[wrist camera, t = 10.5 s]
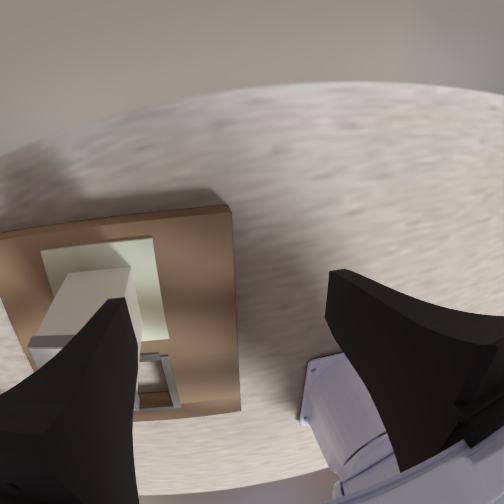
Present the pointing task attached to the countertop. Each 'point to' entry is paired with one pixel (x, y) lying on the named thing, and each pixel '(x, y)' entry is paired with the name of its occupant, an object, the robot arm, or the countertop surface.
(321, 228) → the countertop surface
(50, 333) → the plug
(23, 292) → the brown board with panel
